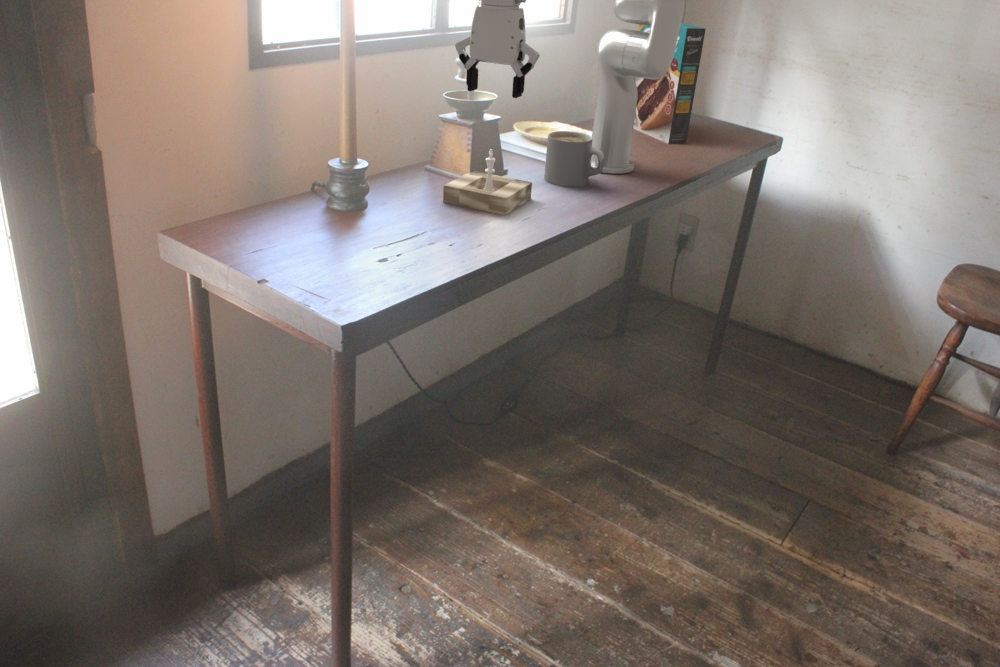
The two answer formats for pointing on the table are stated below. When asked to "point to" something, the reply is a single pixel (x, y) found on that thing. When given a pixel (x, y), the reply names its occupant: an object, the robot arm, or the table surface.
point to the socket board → (487, 192)
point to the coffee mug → (571, 159)
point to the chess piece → (489, 171)
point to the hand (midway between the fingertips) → (494, 93)
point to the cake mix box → (671, 90)
